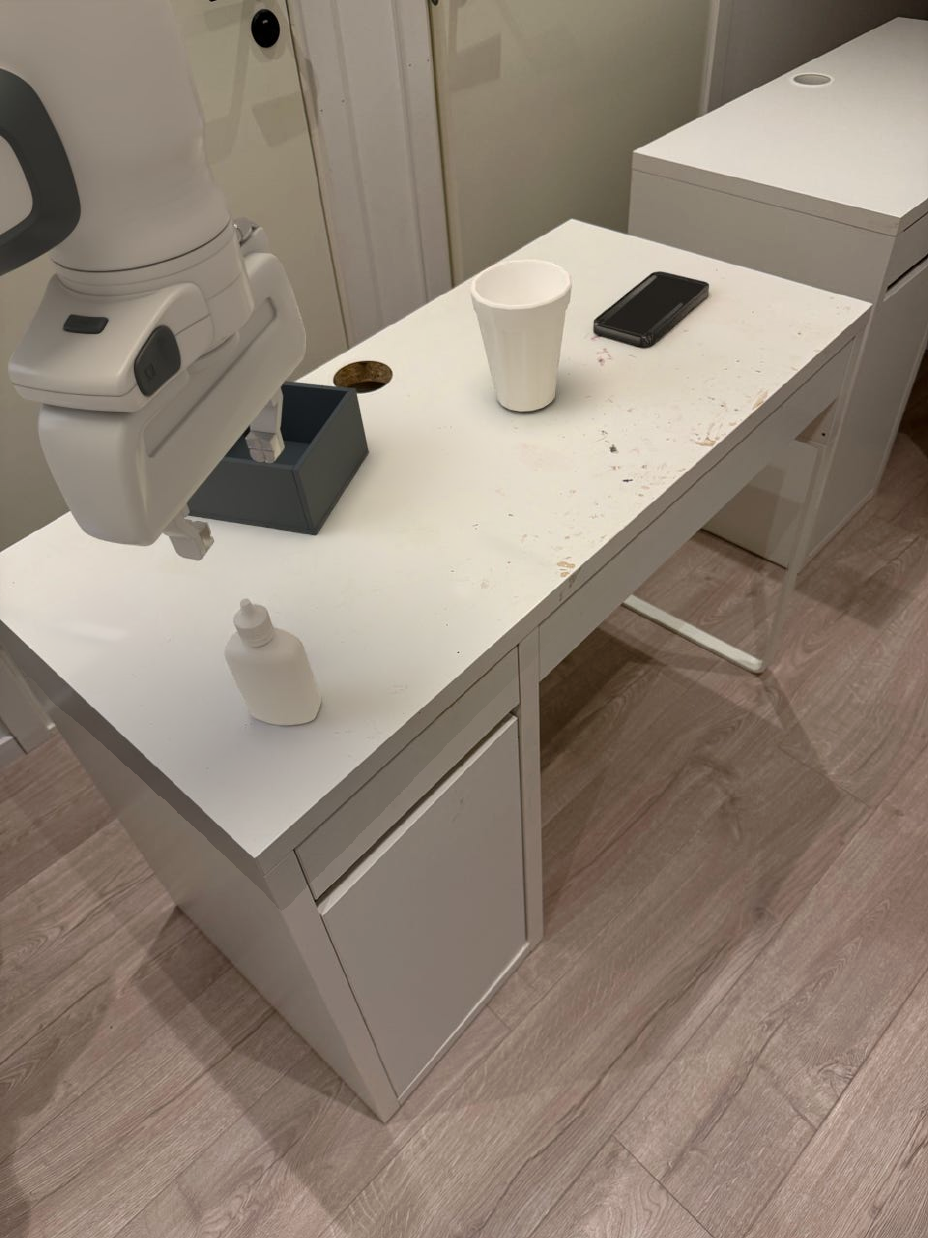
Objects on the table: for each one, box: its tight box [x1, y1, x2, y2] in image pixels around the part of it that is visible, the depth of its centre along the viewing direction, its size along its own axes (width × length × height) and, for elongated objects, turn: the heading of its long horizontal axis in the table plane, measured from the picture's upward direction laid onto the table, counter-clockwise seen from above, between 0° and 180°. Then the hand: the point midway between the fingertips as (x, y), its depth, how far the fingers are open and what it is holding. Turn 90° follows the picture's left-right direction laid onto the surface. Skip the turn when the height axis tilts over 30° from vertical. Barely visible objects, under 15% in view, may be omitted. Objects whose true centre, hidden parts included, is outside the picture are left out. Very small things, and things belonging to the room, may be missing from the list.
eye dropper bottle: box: [224, 598, 322, 726], centre depth 65 cm, size 4×6×12 cm
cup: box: [469, 258, 573, 412], centre depth 91 cm, size 10×10×13 cm
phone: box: [592, 271, 710, 348], centre depth 105 cm, size 8×1×15 cm
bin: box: [187, 380, 370, 536], centre depth 87 cm, size 15×13×8 cm
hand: (235, 501), depth 55 cm, fingers open, 8 cm apart
